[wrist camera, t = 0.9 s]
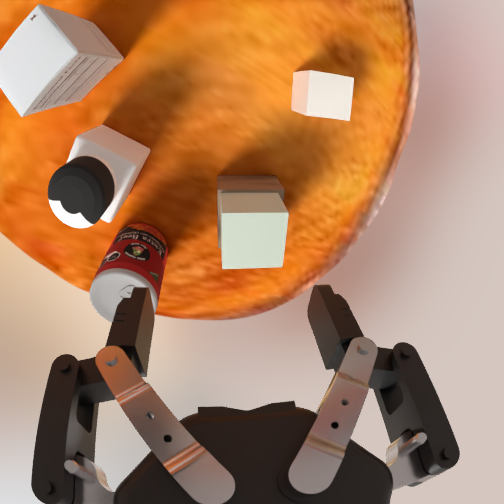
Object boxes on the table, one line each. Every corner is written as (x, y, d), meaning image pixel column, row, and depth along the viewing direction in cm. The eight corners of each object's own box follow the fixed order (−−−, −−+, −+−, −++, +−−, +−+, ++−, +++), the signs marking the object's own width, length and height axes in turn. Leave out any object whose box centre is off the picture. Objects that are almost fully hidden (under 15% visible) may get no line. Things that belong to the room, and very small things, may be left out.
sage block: (220, 192, 29) (221, 213, 25) (277, 192, 30) (288, 212, 26) (220, 242, 33) (222, 269, 29) (273, 241, 33) (282, 267, 29)
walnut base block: (217, 175, 33) (217, 189, 29) (275, 175, 34) (284, 189, 30) (217, 227, 37) (218, 247, 33) (271, 226, 38) (278, 246, 34)
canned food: (176, 232, 37) (165, 286, 27) (158, 277, 40) (147, 335, 31) (122, 212, 34) (93, 261, 25) (109, 260, 38) (86, 314, 28)
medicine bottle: (102, 123, 28) (51, 146, 18) (152, 148, 30) (122, 182, 20) (80, 174, 30) (32, 216, 20) (127, 198, 33) (94, 250, 23)
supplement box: (50, 65, 22) (-15, 68, 11) (94, 21, 20) (39, 0, 10) (80, 103, 26) (20, 120, 15) (127, 60, 24) (79, 50, 14)
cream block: (293, 72, 27) (309, 70, 22) (331, 77, 28) (353, 77, 23) (290, 110, 30) (306, 115, 25) (328, 113, 30) (349, 120, 26)
